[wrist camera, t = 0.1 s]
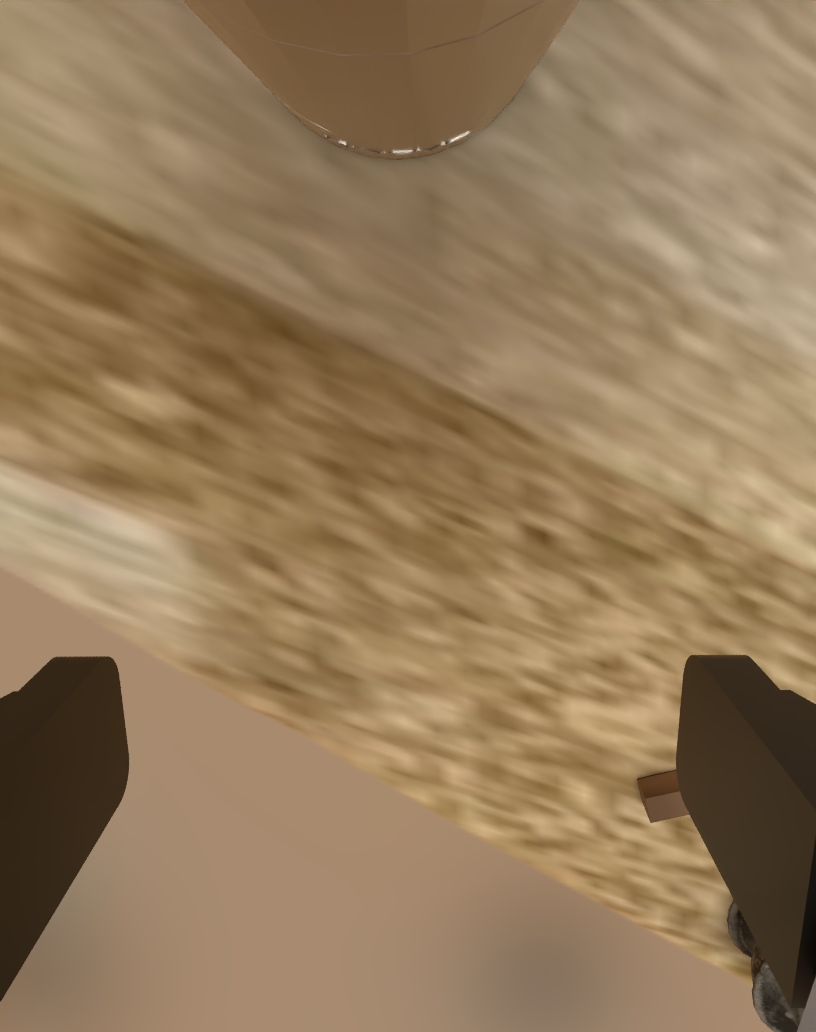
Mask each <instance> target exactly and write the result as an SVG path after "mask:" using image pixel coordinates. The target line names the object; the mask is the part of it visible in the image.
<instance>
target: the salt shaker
mask: <svg viewBox="0 0 816 1032" xmlns="http://www.w3.org/2000/svg"><path fill="white" fill-rule="evenodd" d="M727 922H728V930H729V933H730V936H731V937H732V939H733V941H734V943H735V945H736V946H737V947H738V948H739V949H740V950H741V951H742V952H743V953H744V954H746V955H748V956H750V957H751V971H752V980H753V989H752V996H753V1004H754V1007H755V1009H756V1011H757V1013H758V1015H759V1017H760V1019H761V1020H762V1021H763V1022H764V1023H765V1024H766V1025H767V1026H768V1027H769V1028H770V1029H771V1030H772V1031H774V1032H797V1030H798V1027H799V1024H800V1022H801V1019H802V1016H803V1013H804V1010H805V1008H790V1006H789V1004H788V1002H787V1000H786V998H785V997H784V995H783V993H782V991H781V989H780V987H779V985H778V983H777V981H776V979H775V977H774V975H773V973H772V972H771V970H770V968H769V966H768V964H767V962H766V960H765V958H764V956H763V954H762V952H761V950H760V949H759V947H758V945H757V943H756V941H755V939H754V937H753V935H752V933H751V931H750V929H749V927H748V925H747V924H746V922H745V920H744V918H743V916H742V914H741V912H740V910H739V908H738V906H737V904H736V902H735V900H734V901H733V903H732V905H731V907H730V909H729V914H728V919H727Z"/></svg>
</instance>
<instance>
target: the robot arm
mask: <svg viewBox="0 0 816 1032" xmlns="http://www.w3.org/2000/svg"><path fill="white" fill-rule="evenodd" d="M183 1H184V2H185V3H186V4H187V5H188V6H189V7H190V8H191V9H192V10H193V11H194V12H195V14H196V15H197V16H198V17H199V18H200V19H201V20H202V21H203V22H204V23H205V24H206V25H207V26H208V27H209V28H210V29H211V30H212V31H213V32H214V33H215V34H216V35H217V36H218V37H219V38H220V39H221V40H222V41H223V42H224V43H225V44H226V45H227V46H228V47H229V49H230V50H231V51H232V52H233V53H234V54H235V55H236V56H237V57H238V58H239V59H240V60H241V61H242V62H243V63H244V64H245V65H246V66H247V67H248V68H249V69H250V70H251V71H252V72H253V73H254V74H255V75H256V76H257V77H258V78H259V79H260V81H261V82H262V83H263V84H264V85H265V86H266V87H267V88H268V89H269V90H270V91H271V92H272V93H273V94H274V95H275V96H276V97H277V98H278V99H279V100H280V101H281V102H282V103H283V104H284V105H285V106H286V107H287V108H288V109H289V110H290V111H291V112H292V113H293V114H294V115H295V116H296V117H297V118H298V119H300V120H301V121H302V122H303V123H304V124H305V125H306V126H307V127H308V128H309V129H310V130H312V131H314V132H315V133H317V134H319V135H320V136H322V137H324V138H325V139H327V140H329V141H330V142H332V143H334V144H335V145H337V146H339V147H342V148H345V149H348V150H351V151H354V152H357V153H360V154H363V155H366V156H370V157H381V158H392V159H405V158H412V157H419V156H426V155H432V154H434V153H437V152H439V151H442V150H445V149H447V148H450V147H452V146H455V145H458V144H460V143H462V142H463V141H465V140H466V139H468V138H469V137H471V136H472V135H474V134H475V133H477V132H478V131H480V130H481V129H483V128H484V127H486V126H488V125H489V124H490V123H491V122H492V121H493V119H494V118H495V117H496V116H497V115H498V114H499V113H500V112H501V111H502V110H503V109H504V108H505V107H506V106H507V105H508V104H509V103H510V102H511V101H512V100H513V98H514V97H515V95H516V94H517V92H518V91H519V89H520V88H521V86H522V85H523V83H524V82H525V80H526V79H527V78H528V76H529V75H530V73H531V72H532V70H533V69H534V68H535V66H536V65H537V64H538V62H539V61H540V60H541V58H542V57H543V55H544V54H545V52H546V50H547V49H548V47H549V46H550V44H551V43H552V41H553V40H554V38H555V37H556V35H557V34H558V32H559V31H560V29H561V28H562V26H563V25H564V23H565V21H566V20H567V18H568V17H569V15H570V14H571V12H572V11H573V9H574V8H575V6H576V5H577V3H578V2H579V0H183ZM676 770H677V779H678V785H679V790H680V793H681V797H682V800H683V802H684V804H685V806H686V808H687V810H688V812H689V814H690V816H691V818H692V820H693V822H694V824H695V826H696V827H697V829H698V831H699V833H700V835H701V837H702V839H703V841H704V843H705V845H706V847H707V849H708V851H709V852H710V854H711V856H712V858H713V860H714V862H715V864H716V866H717V868H718V870H719V872H720V874H721V876H722V877H723V879H724V881H725V883H726V885H727V887H728V889H729V891H730V893H731V895H732V897H733V899H734V900H735V902H736V904H737V906H738V908H739V910H740V912H741V914H742V916H743V918H744V920H745V922H746V924H747V925H748V927H749V929H750V931H751V933H752V935H753V937H754V939H755V941H756V943H757V945H758V947H759V949H760V950H761V952H762V954H763V956H764V958H765V960H766V962H767V964H768V966H769V968H770V970H771V972H772V973H773V975H774V977H775V979H776V981H777V983H778V985H779V987H780V989H781V991H782V993H783V995H784V997H785V998H786V1000H787V1002H788V1004H789V1006H790V1008H805V1010H804V1013H803V1016H802V1019H801V1022H800V1024H799V1027H798V1030H797V1032H816V704H814V703H812V702H811V701H809V700H807V699H805V698H803V697H802V696H800V695H798V694H796V693H794V692H793V691H791V690H780V689H779V688H778V687H777V686H776V685H775V684H774V683H773V682H772V680H771V679H770V678H769V677H768V676H767V675H766V674H765V673H764V672H763V671H762V670H761V669H760V667H759V666H758V665H757V664H756V663H755V662H754V661H753V660H752V659H751V658H750V657H749V656H747V655H691V656H690V657H689V658H688V659H687V661H686V664H685V668H684V674H683V685H682V696H681V707H680V719H679V730H678V741H677V753H676ZM128 772H129V753H128V744H127V736H126V728H125V720H124V711H123V703H122V695H121V687H120V680H119V672H118V668H117V665H116V663H115V661H114V660H113V659H112V658H111V657H55V658H53V659H51V660H50V661H49V662H48V663H47V664H46V665H45V666H44V667H43V668H42V669H41V670H40V671H39V672H38V673H37V674H36V675H35V676H34V677H33V678H32V679H30V680H29V681H28V682H27V683H26V684H25V685H24V687H22V688H21V689H20V690H19V691H17V692H16V691H15V692H12V693H10V694H8V695H6V696H4V697H2V698H0V1001H1V1000H2V999H3V997H4V995H5V994H6V992H7V990H8V988H9V987H10V985H11V984H12V982H13V980H14V979H15V977H16V975H17V974H18V972H19V970H20V969H21V967H22V965H23V964H24V962H25V960H26V959H27V957H28V955H29V954H30V952H31V950H32V949H33V947H34V945H35V944H36V942H37V940H38V939H39V937H40V935H41V934H42V932H43V930H44V929H45V927H46V925H47V924H48V922H49V920H50V919H51V917H52V915H53V914H54V912H55V910H56V909H57V907H58V905H59V904H60V902H61V900H62V899H63V897H64V895H65V894H66V892H67V890H68V889H69V887H70V885H71V884H72V882H73V880H74V879H75V877H76V876H77V874H78V872H79V870H80V869H81V867H82V866H83V864H84V862H85V861H86V859H87V857H88V856H89V854H90V852H91V851H92V849H93V847H94V846H95V844H96V842H97V841H98V839H99V837H100V836H101V834H102V832H103V831H104V829H105V827H106V825H107V824H108V822H109V821H110V819H111V817H112V816H113V814H114V812H115V811H116V809H117V807H118V806H119V804H120V802H121V800H122V798H123V795H124V792H125V789H126V785H127V780H128Z"/></svg>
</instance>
